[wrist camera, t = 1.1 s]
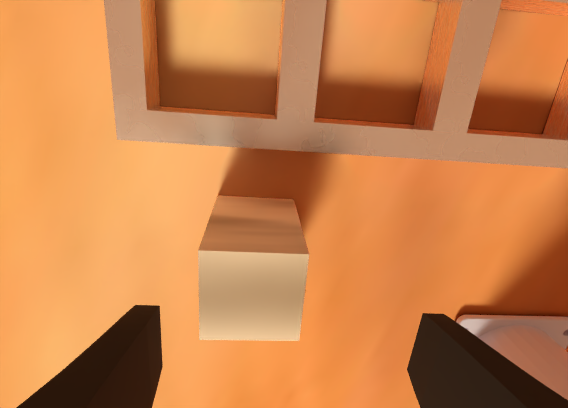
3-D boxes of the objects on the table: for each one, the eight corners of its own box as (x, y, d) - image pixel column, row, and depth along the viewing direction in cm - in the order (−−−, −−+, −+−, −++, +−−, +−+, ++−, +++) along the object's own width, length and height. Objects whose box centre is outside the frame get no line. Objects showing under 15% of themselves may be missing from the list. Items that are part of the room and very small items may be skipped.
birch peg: (287, 264, 19) (298, 340, 14) (217, 262, 19) (199, 339, 13) (293, 199, 18) (309, 254, 12) (217, 195, 18) (198, 250, 12)
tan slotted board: (556, 160, 18) (590, 169, 16) (133, 132, 16) (117, 139, 14) (619, -12, 15) (669, -25, 14) (118, -72, 13) (95, -96, 11)
